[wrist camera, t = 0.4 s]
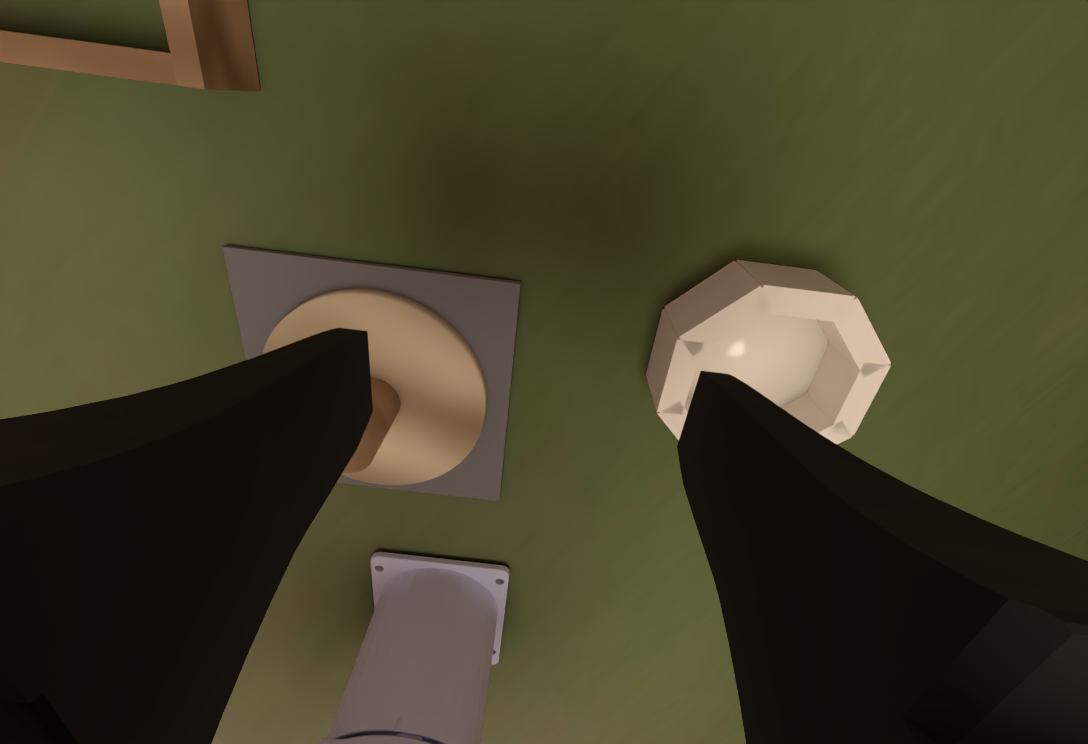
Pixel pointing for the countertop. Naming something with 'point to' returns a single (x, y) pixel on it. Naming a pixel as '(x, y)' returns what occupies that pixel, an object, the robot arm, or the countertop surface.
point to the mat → (462, 300)
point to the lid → (402, 383)
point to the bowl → (770, 346)
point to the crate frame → (193, 61)
